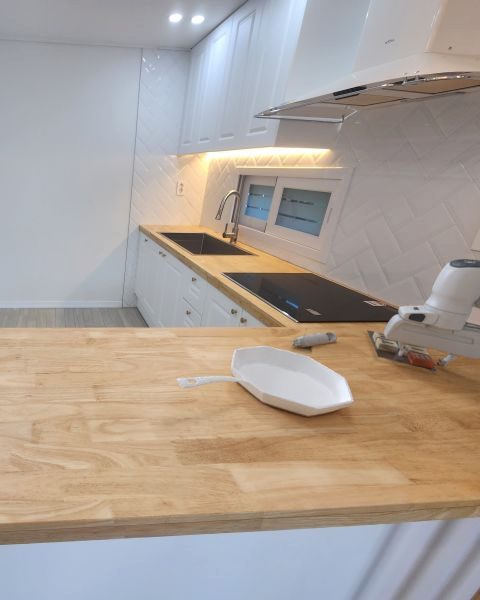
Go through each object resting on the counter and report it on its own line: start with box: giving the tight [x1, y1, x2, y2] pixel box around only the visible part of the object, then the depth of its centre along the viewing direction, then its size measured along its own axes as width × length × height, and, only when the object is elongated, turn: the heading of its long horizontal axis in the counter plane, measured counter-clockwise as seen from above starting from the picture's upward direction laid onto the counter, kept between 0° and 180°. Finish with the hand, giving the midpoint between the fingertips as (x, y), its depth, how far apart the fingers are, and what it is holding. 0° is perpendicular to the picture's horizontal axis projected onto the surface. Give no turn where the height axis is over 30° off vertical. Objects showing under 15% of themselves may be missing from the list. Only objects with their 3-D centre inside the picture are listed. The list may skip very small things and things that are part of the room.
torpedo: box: [290, 328, 338, 348], centre depth 106 cm, size 18×5×7 cm, turn 109°
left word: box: [373, 331, 399, 353], centre depth 107 cm, size 4×10×2 cm, turn 148°
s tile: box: [408, 352, 436, 369], centre depth 98 cm, size 4×4×2 cm
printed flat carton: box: [403, 344, 430, 356], centre depth 106 cm, size 4×16×2 cm, turn 148°
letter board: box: [366, 329, 437, 372], centre depth 106 cm, size 13×22×1 cm, turn 148°
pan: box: [176, 345, 355, 418], centre depth 81 cm, size 25×44×6 cm, turn 107°
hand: (421, 360), depth 98 cm, fingers open, 7 cm apart
